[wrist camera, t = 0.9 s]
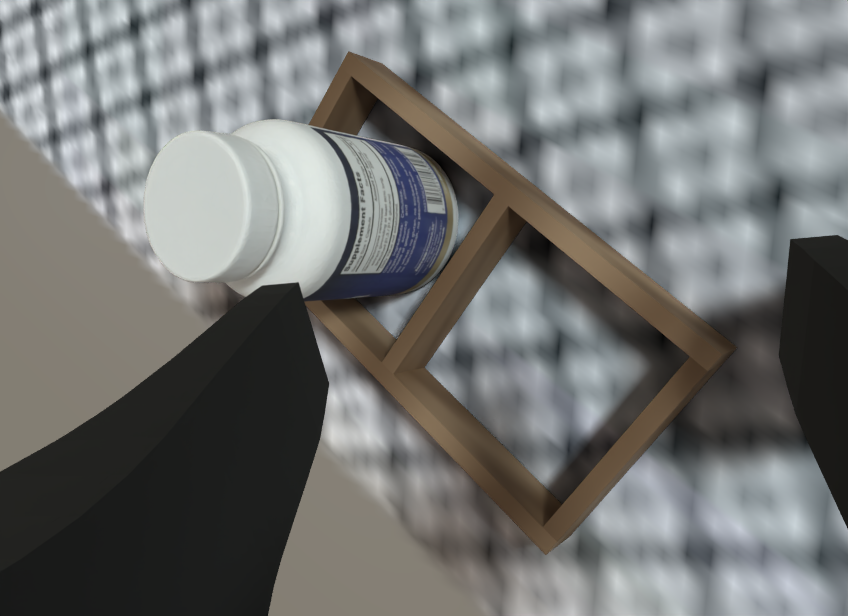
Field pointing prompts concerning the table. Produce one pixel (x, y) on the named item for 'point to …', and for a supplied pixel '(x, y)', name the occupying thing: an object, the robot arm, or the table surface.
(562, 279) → the table surface
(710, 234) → the table surface
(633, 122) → the table surface
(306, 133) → the pill bottle
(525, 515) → the wooden tray
